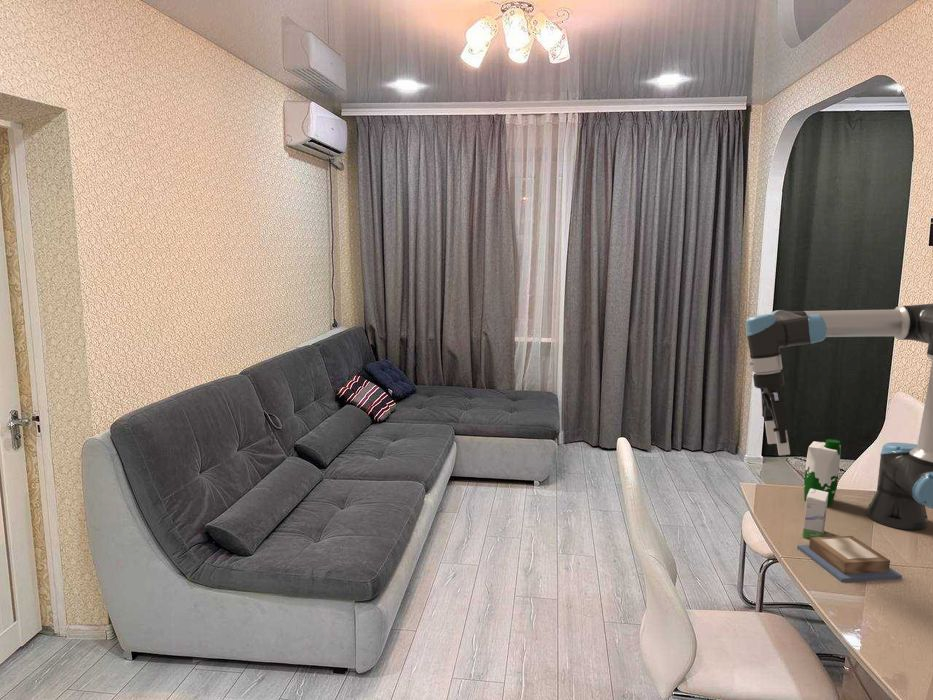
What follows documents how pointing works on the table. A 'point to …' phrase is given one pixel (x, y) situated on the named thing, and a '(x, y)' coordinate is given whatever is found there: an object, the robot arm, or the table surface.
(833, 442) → the milk carton
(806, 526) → the ink box
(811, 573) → the table surface
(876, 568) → the walnut plinth
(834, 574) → the board
